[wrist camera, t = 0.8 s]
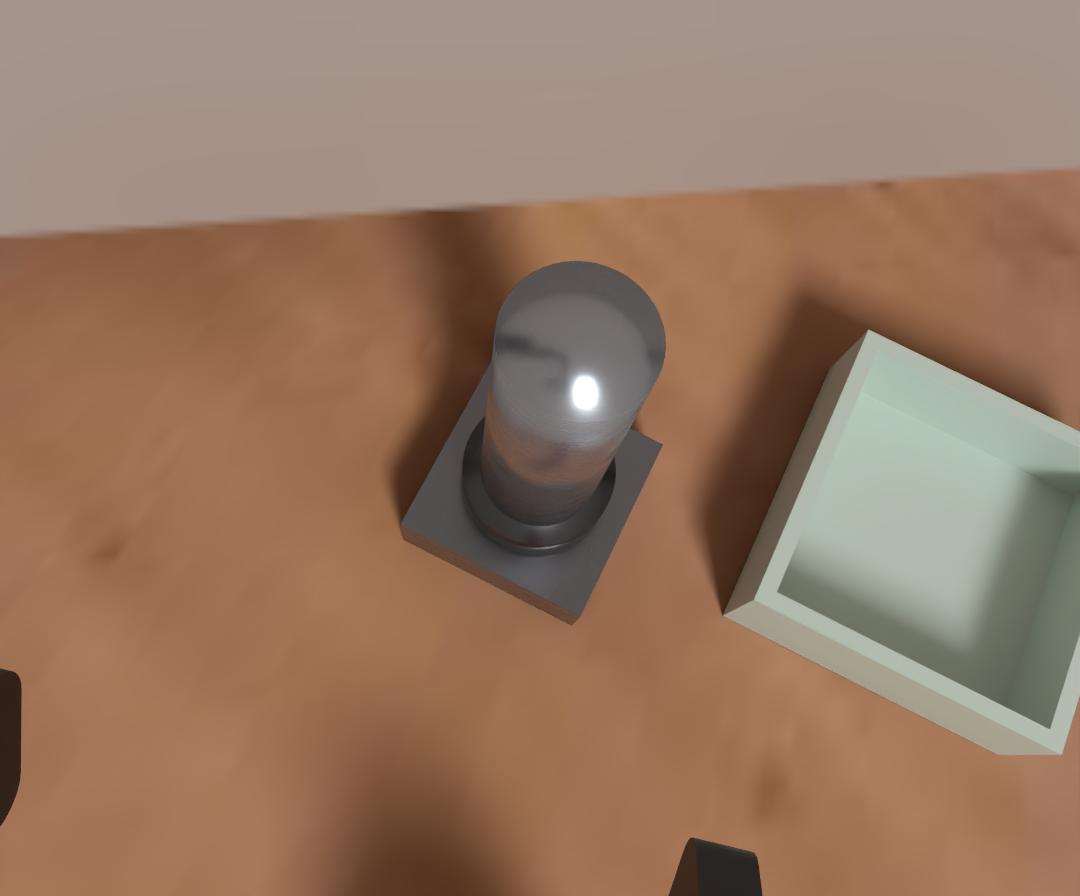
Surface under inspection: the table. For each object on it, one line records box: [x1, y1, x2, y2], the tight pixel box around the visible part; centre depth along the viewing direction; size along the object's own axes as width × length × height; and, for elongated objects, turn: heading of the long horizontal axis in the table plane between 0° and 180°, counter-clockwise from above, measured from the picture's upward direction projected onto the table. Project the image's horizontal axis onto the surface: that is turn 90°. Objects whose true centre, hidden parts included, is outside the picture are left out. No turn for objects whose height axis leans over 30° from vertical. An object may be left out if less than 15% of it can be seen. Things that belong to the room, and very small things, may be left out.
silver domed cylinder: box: [462, 261, 666, 556], centre depth 29 cm, size 5×5×13 cm
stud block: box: [400, 361, 663, 625], centre depth 37 cm, size 7×7×2 cm
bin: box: [723, 330, 1080, 755], centre depth 37 cm, size 11×11×4 cm
